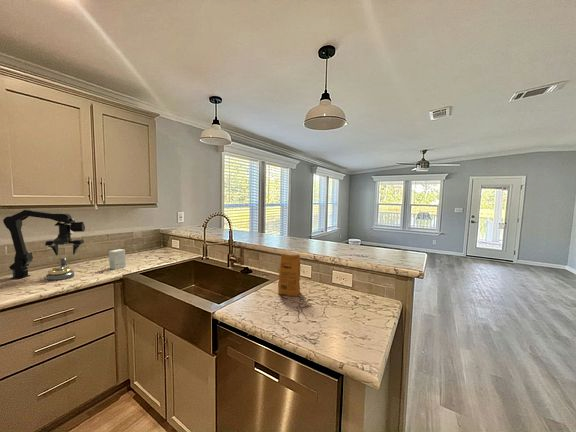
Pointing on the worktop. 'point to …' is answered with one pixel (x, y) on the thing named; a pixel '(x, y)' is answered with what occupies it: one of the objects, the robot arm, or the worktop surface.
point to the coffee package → (289, 275)
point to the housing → (59, 277)
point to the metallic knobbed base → (60, 268)
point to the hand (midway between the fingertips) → (65, 254)
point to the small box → (117, 259)
